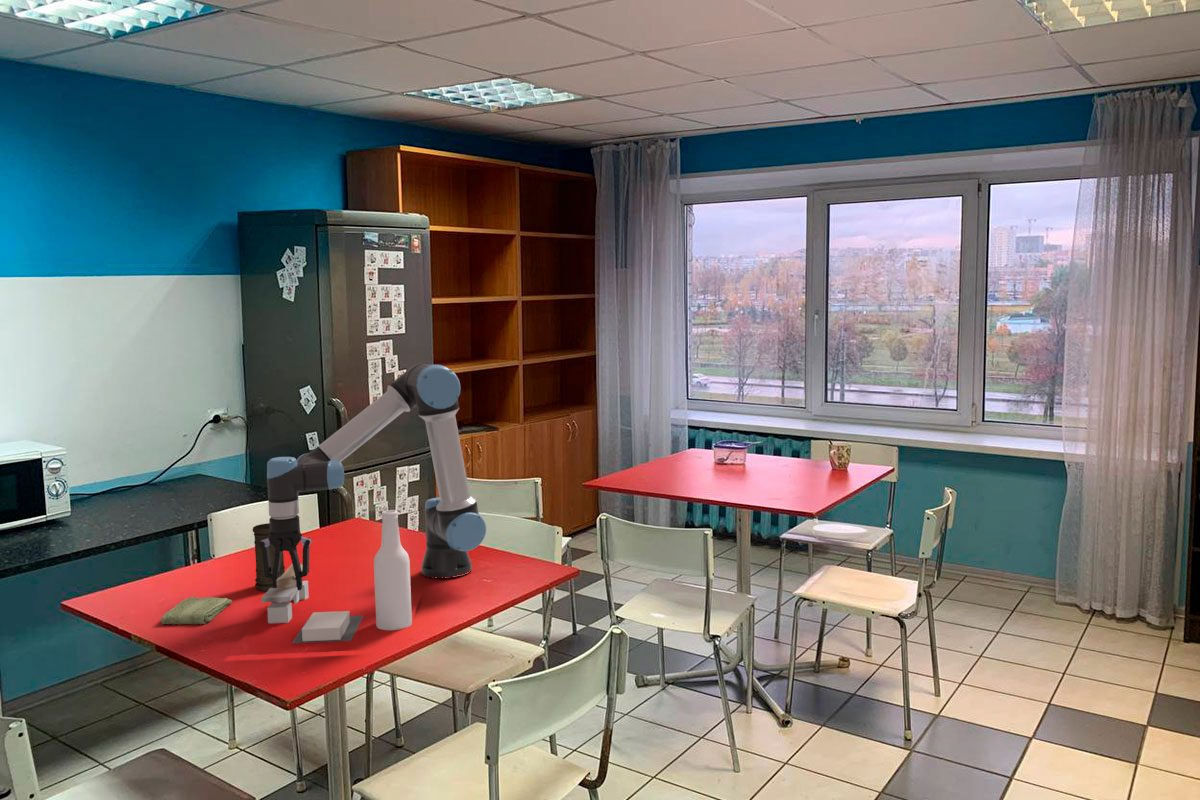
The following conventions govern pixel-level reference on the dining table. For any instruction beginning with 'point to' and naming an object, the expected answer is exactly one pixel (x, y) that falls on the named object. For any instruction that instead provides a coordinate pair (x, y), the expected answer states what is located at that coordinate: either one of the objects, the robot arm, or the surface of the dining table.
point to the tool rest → (285, 607)
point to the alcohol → (392, 578)
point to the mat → (346, 636)
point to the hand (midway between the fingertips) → (288, 602)
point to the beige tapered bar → (282, 588)
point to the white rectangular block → (326, 626)
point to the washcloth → (195, 610)
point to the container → (261, 581)
